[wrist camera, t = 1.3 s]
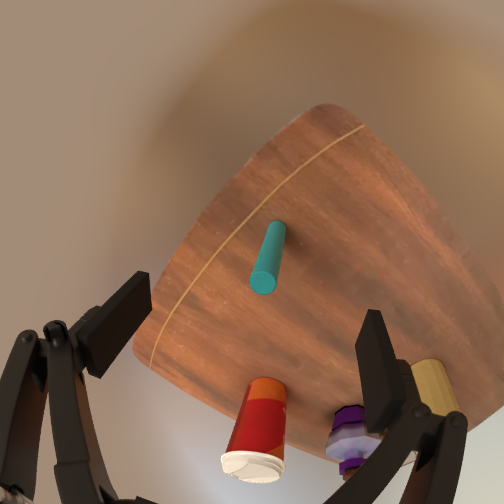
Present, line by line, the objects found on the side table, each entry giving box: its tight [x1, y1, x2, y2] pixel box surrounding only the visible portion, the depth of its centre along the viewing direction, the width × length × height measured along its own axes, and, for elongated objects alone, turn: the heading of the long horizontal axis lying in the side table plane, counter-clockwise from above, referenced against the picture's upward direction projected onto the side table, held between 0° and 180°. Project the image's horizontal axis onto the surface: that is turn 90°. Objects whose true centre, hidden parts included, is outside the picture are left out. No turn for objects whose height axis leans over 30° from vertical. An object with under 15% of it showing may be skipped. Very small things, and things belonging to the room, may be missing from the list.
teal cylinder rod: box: [249, 221, 286, 295], centre depth 24 cm, size 2×2×11 cm
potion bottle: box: [325, 404, 381, 481], centre depth 34 cm, size 9×9×12 cm
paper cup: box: [221, 378, 286, 483], centre depth 33 cm, size 8×8×14 cm
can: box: [411, 359, 461, 454], centre depth 29 cm, size 7×7×12 cm
